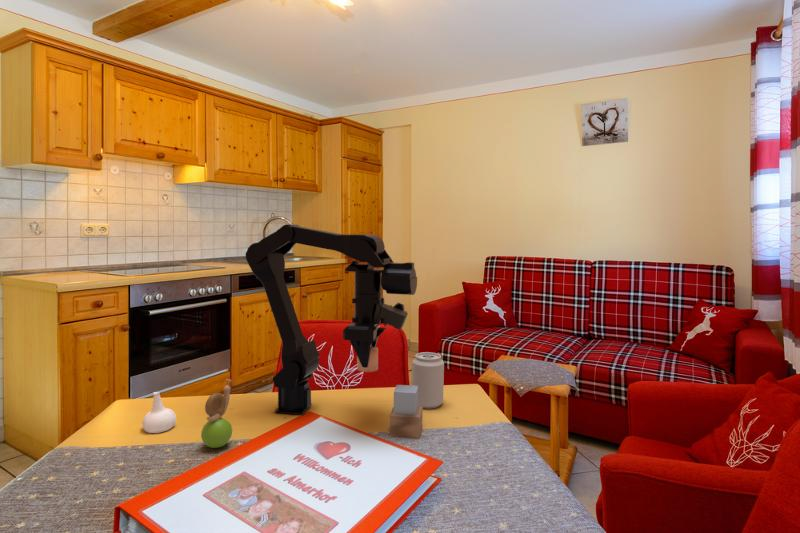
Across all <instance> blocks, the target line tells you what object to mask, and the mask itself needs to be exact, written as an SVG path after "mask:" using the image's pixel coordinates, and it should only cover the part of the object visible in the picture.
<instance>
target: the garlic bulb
mask: <svg viewBox="0 0 800 533" xmlns="http://www.w3.org/2000/svg"><path fill="white" fill-rule="evenodd" d="M152 395H153V398H152V399H153V400H152V408H151V410H150V411H149V412H147V413H146V414H145V415H144V417H143V420H142V428H143V430H144V432H146V433H149V434H159V433H163V432H166V431H169V430H170V429H172V428H174V426H175V425H176V422H177V416H176V413H175V412H174V410H172V409H170V408H169V407H165V406H164V404H163V401H162V398H161V395H160V391H154V392H153V393H152Z"/></svg>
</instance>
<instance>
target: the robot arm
mask: <svg viewBox="0 0 800 533" xmlns="http://www.w3.org/2000/svg"><path fill="white" fill-rule="evenodd" d="M297 244H299V245H304V246H309V247H314V248H320V249H323V250H328V251H329V250H330V251H335V252H338V253H341V254H342V255H343V256H346V257H348V258H350V259H353V260H352V261H351V263H350V264H349V265H347V266H346V267H345V268H344V271H345V272H351V273H352V272H353V273H354V297H353V298H352V299H351V300H352V302H351V303H352V304H354V316H352V319H351V322H350V323H349V324H348V325H347V326H346V327H345V328H344V329H343V330H342V339H343V340H344V341H349V342H350V344H351V346H352V348H353V350H354V351H355V353H356V357H357V356H358V358H359V361H360V363H361V365H362V367H364V368H367V367H368V363H369V357H370V351H371V346H374V347H377V342H378V339H379V336H381V334H383V333H384V332H385V330H386V327H380V324H383V326H388V325H389V326H391V327H393V328H394V329H396V330H402V328H403V327H404V324H405V322H406V320H407V317H408V314H409V313H408V312H407V311H406V310H405V305H404V304H403V303H400V302H397V303H395V304H394V305H393V304H387V303H385V298H384V296H383V295H382V291H385V292H386V294H387V295H401V296H402V295H404V296H405V295H406V296H414V295H415V294H416V291H417V287H418V276H417V271H416V268H415V262H411V261H408V262H394V261H393V259H392V258H391V256H390V254H389V253H388V252H387V250H386V249H385V246H386V245H385V243H384V240H383V239H382V238H381V236H379V235H376V234H344V233H343V234H342V233H338V232H332V231H327V230H321V229H315V228H310V227H307V226H306V227H305V226H301V225H298V224H293V223H292V224H291V223H290V224H289V223H288V224H283V225H282V226H280V227H279V228H278V229H277V230H276V231H274V232H272V233H271V234H269V235H267V236H265V237H264V238H262V239H260V241H258V242H253V243H252V244H250V245H249V246H248V247H247V250H246V251H245V260H246V262H247V264H248V267H249V268H250V270H251V272H252V273H253V275H254V276H255V277H256V278H257V280H259V281H260V282H261V284H262V286H263V289H264V291H265V292H264V293H265V295H266V297H267V299H268V303H269V306H270V309H271V312H272V315H273V319H274V321H275V324H276V327H277V331H278V333H279V336H280V339H281V342H282V345H281V351H280V352H281V354H280V360H281V366H282V368H281V369H280V370H279V371H278V372H277V373H276V374H275V375H274V376H273V377H272V382H273V385H274V388H277V405H278V406H277V407H276V408H275V409H274V412H275V414H276V413H279V414H290V415H304V413H305V412H306V411H307V410H308V409H309V408H310V407H311V406H312V389H311V387H310V381H309V380H310V379H311V378H312V376H313V374H314V372H315V371H316V370H318V367H319V365H320V357H321V354H320V353H319V351H318V349H317V344H316V341H315V340H314V339H312V340H310V341H309V340H308V339H307V338H306V337H305V336H304V333H303V331H302V329H301V328H302V327H301V325H300V322H299V319H298V316H297V314H296V311H295V308H294V304H293V301H292V299H291V295H290V292H289V290H288V287H287V283H286V281H285V277H284V276H285V268H286V262H285V261H286V260H285V255H287V254H288V253H289V252H290V251H291V250H292V249H293V248H294V246H295V245H297ZM360 262H362V263H360Z"/></svg>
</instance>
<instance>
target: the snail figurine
mask: <svg viewBox="0 0 800 533" xmlns="http://www.w3.org/2000/svg"><path fill="white" fill-rule="evenodd" d="M225 382H226V385H225V386H224V387H223V394H222V393H221V392H214V393H212V394H211V395H209V397H208V398H207V400H206V401H205V404H204V405H205V406H204V410H205V414H206V415H207V417H206V420H207V422H206V423H205V424H204V425H203V427H202V429H201V435H200V436H201V441H202V442H203V444H204V445H206V446H207V447H208V448H211V449H219V448H221V447H224V446H225V445H227V443H228V442H229V441H230V440H231V438H232V435H233V427H232V424H231V423H230V422H229V421H228V420H227V419H226V418H223V416H224V415H225V414H226V413H227V410H228V408H229V407H228V406H229V404H230V399H231V398H230V397H231V396H230V393H231V390H232V388H231V385H230V384H228V382H229V383H231V382H232V379H229V378H226V379H225Z"/></svg>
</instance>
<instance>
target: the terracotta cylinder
mask: <svg viewBox="0 0 800 533" xmlns="http://www.w3.org/2000/svg"><path fill="white" fill-rule="evenodd" d="M356 363H357V364H356V366H357V367H356V368H357V369H356V370H358V371H359V372H363V373H364V372H365V373H372V372H376V371H378V370H379V347H377V346H376V347H374V346H371V351H370V357H369V363H368V367H367V368H364V367H362V365H361V363H360V361H359V358H358V356H357V355H356Z"/></svg>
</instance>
